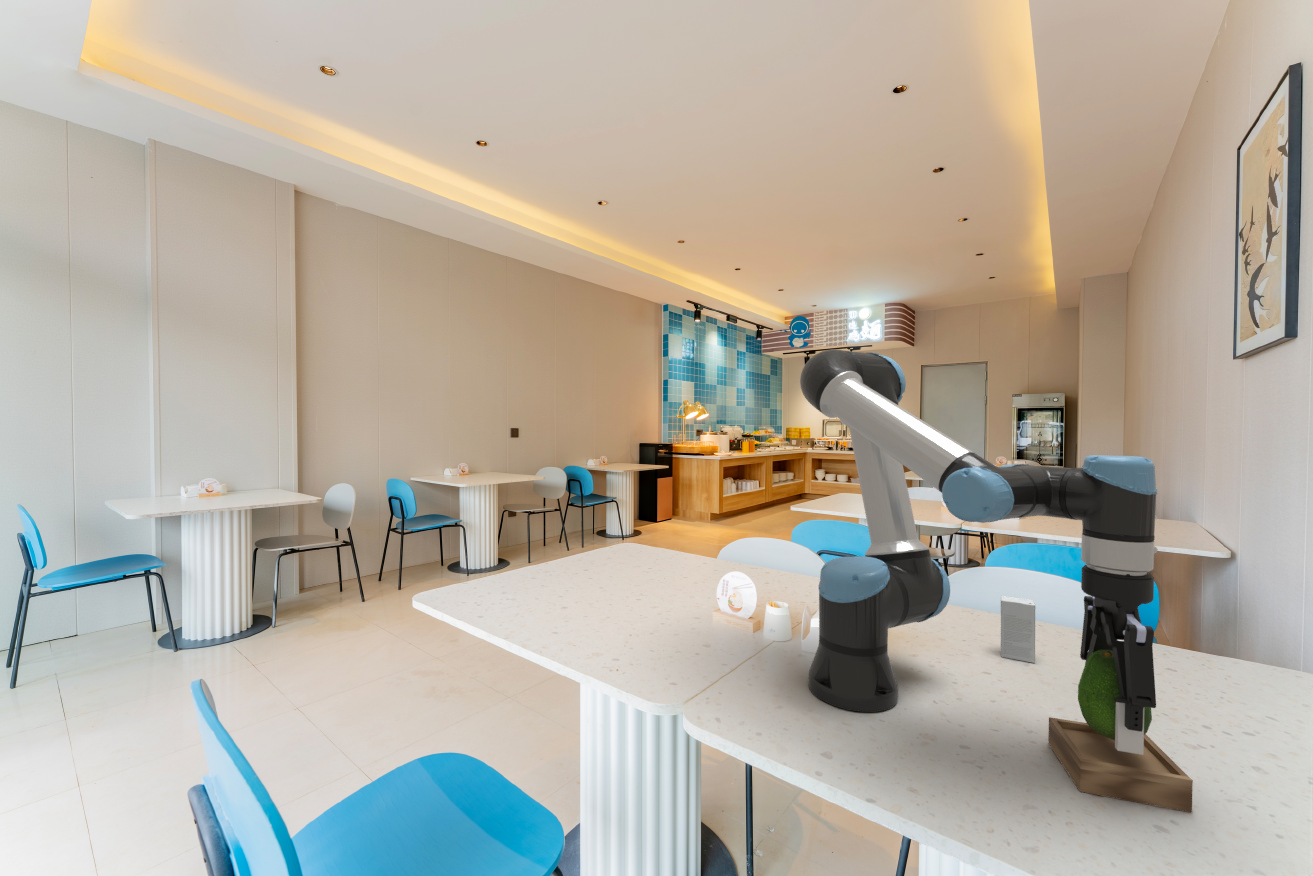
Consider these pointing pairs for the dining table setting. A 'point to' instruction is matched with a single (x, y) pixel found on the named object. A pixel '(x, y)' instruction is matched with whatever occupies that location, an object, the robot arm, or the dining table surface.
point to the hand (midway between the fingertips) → (1113, 733)
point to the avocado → (1102, 694)
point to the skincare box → (1018, 629)
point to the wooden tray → (1119, 767)
